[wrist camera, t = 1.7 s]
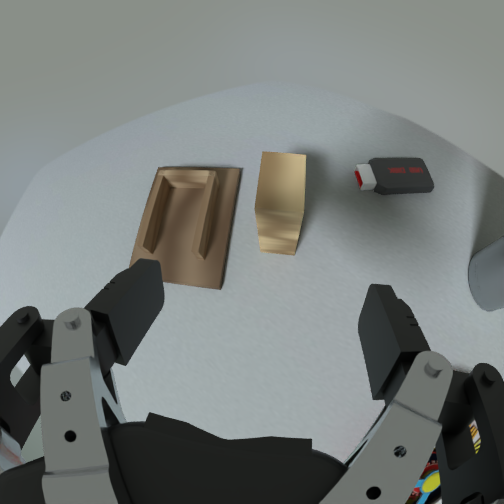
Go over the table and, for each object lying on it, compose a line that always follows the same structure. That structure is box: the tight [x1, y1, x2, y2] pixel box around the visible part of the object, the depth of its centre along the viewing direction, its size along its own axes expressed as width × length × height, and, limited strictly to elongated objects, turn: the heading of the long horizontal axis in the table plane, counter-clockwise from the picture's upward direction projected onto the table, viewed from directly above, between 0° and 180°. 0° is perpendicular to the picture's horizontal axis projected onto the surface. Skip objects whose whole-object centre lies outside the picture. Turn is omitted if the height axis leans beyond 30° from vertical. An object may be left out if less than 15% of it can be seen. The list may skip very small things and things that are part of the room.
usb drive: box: [354, 158, 434, 195], centre depth 34 cm, size 5×12×3 cm, turn 96°
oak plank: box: [255, 152, 306, 255], centre depth 28 cm, size 4×6×11 cm, turn 173°
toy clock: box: [405, 420, 481, 504], centre depth 19 cm, size 20×6×20 cm
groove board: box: [129, 167, 240, 290], centre depth 33 cm, size 12×16×4 cm
